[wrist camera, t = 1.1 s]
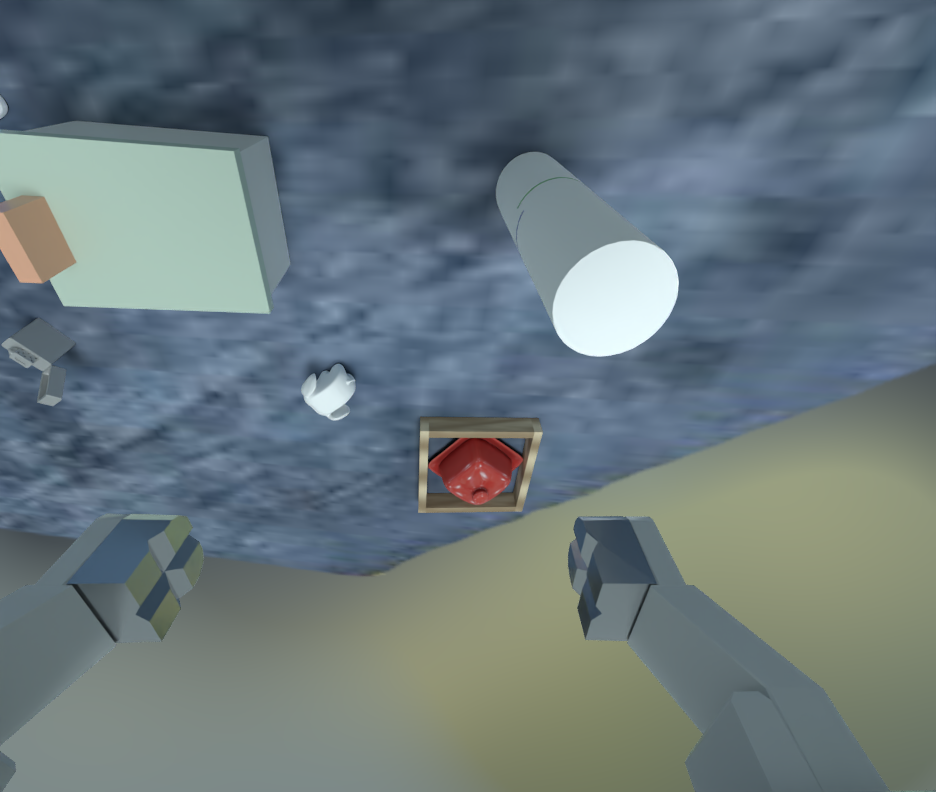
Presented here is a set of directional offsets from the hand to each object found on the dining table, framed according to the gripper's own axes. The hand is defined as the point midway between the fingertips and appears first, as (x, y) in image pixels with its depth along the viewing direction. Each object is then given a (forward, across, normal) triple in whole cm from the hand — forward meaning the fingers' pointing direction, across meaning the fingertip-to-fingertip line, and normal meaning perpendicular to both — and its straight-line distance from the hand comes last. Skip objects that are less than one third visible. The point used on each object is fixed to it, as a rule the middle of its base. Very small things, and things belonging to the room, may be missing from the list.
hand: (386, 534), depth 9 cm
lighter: (+41, +44, +15) cm, 62 cm away
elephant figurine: (+43, +14, +20) cm, 50 cm away
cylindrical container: (+42, -9, -2) cm, 43 cm away
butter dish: (+47, -5, +37) cm, 60 cm away
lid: (+31, +24, 0) cm, 39 cm away
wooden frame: (+46, -5, +37) cm, 60 cm away
